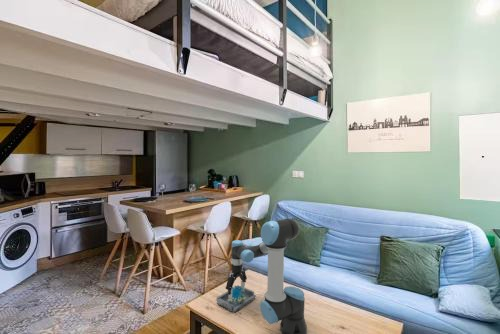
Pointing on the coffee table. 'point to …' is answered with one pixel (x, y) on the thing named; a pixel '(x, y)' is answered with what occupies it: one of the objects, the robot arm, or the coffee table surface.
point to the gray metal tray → (238, 304)
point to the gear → (237, 293)
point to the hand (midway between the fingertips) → (236, 294)
